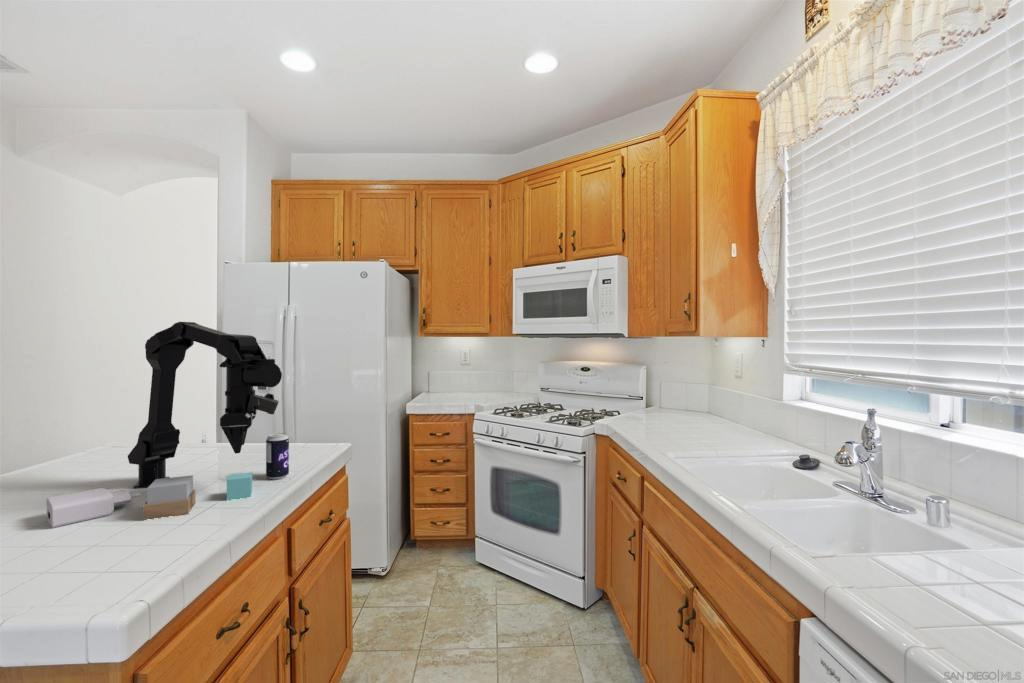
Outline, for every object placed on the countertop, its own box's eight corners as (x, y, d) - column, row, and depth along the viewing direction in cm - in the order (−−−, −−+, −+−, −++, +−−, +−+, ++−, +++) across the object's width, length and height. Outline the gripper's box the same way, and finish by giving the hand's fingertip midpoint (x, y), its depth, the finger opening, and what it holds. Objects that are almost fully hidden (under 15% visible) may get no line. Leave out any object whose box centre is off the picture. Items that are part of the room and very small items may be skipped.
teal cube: (229, 494, 113) (229, 474, 113) (252, 491, 116) (252, 472, 116) (226, 501, 109) (226, 480, 109) (250, 497, 111) (250, 477, 111)
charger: (144, 508, 104) (52, 529, 92) (134, 499, 110) (46, 518, 98) (145, 488, 104) (52, 506, 92) (134, 480, 110) (46, 496, 98)
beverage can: (279, 481, 124) (279, 437, 124) (261, 479, 125) (261, 436, 125) (293, 475, 130) (293, 433, 130) (275, 473, 131) (276, 432, 131)
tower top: (155, 494, 104) (155, 479, 104) (192, 490, 107) (192, 475, 107) (147, 504, 98) (147, 488, 98) (186, 499, 101) (186, 483, 101)
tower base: (153, 509, 104) (153, 494, 104) (195, 504, 107) (195, 489, 107) (143, 522, 97) (143, 505, 97) (188, 515, 100) (188, 500, 100)
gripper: (275, 388, 107) (275, 454, 107) (277, 381, 124) (277, 438, 124) (219, 390, 102) (219, 459, 102) (229, 383, 119) (229, 442, 119)
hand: (239, 448), depth 112 cm, fingers open, 9 cm apart
